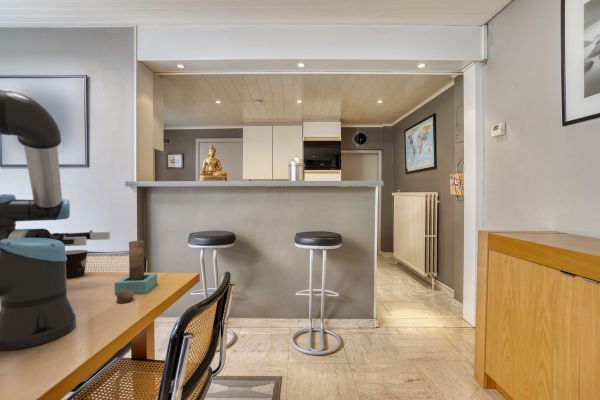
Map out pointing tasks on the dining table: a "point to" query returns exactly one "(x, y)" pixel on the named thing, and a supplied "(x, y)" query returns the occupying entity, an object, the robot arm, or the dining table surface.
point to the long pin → (136, 260)
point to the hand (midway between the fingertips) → (98, 238)
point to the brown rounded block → (125, 295)
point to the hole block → (137, 284)
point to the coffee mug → (75, 263)
